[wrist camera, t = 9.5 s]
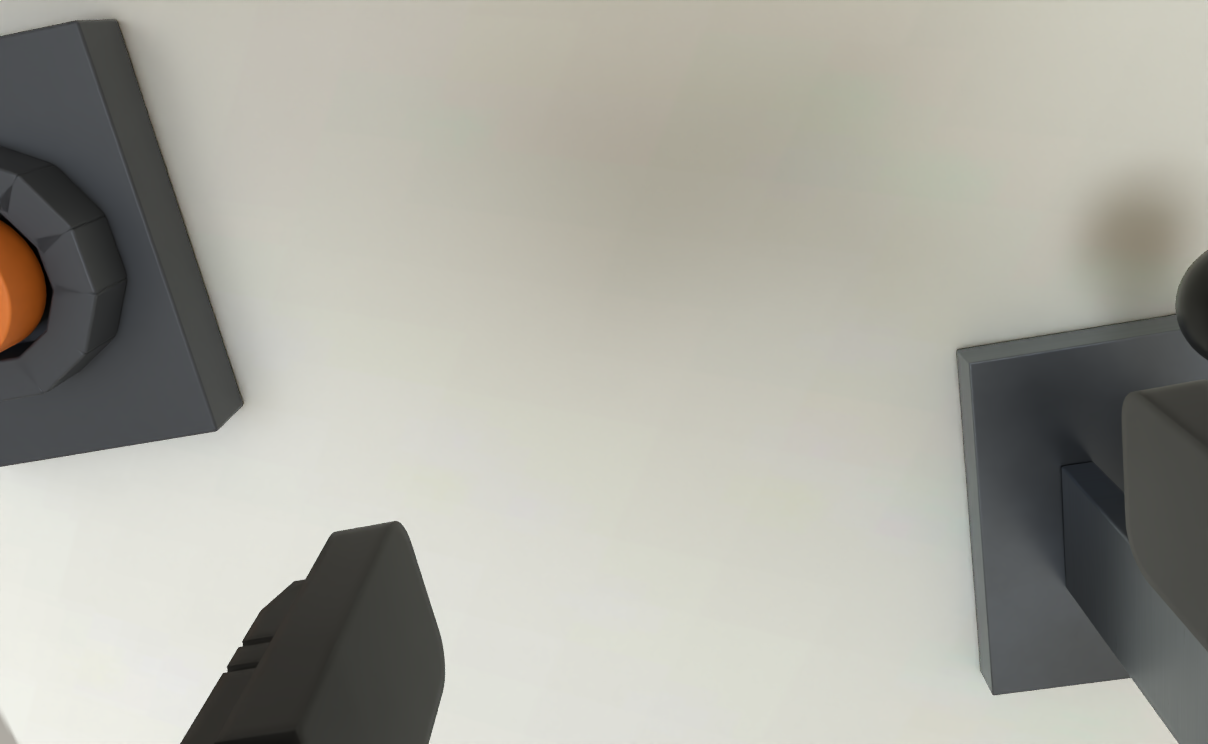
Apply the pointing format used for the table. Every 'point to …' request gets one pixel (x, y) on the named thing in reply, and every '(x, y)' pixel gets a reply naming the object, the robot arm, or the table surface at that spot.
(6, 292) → the stop button
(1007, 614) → the lever bracket
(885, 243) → the table surface
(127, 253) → the block
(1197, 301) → the press lever
